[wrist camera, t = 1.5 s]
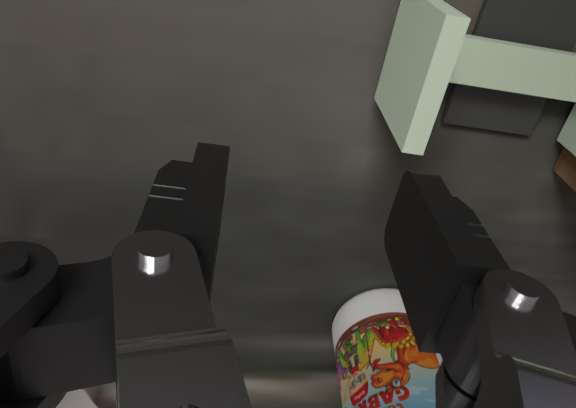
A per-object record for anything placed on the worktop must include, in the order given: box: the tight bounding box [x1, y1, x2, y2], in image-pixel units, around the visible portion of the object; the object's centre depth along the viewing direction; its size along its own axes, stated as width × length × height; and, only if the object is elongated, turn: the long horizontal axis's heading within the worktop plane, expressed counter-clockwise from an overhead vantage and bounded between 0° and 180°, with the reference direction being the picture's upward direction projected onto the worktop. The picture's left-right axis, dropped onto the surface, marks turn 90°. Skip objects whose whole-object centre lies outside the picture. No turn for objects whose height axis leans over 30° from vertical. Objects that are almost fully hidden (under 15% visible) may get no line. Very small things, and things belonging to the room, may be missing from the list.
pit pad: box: [441, 0, 576, 136], centre depth 28 cm, size 8×6×1 cm
